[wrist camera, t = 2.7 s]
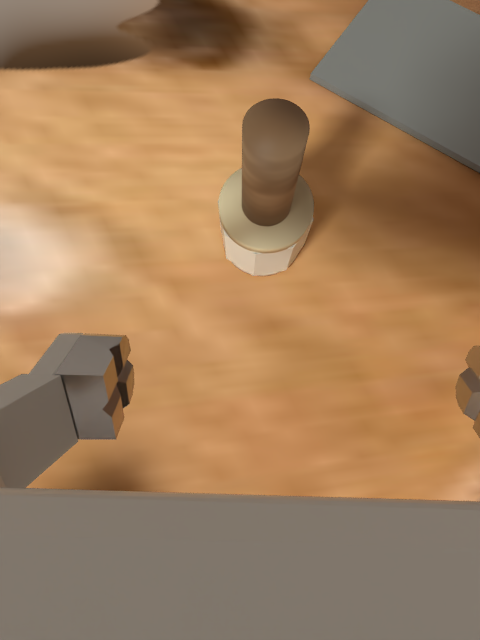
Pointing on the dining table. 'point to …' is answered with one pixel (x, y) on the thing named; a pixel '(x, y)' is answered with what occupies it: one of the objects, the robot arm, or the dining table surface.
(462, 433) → the dining table surface
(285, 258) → the white octagonal base
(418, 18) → the mat
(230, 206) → the brown peg on disc
